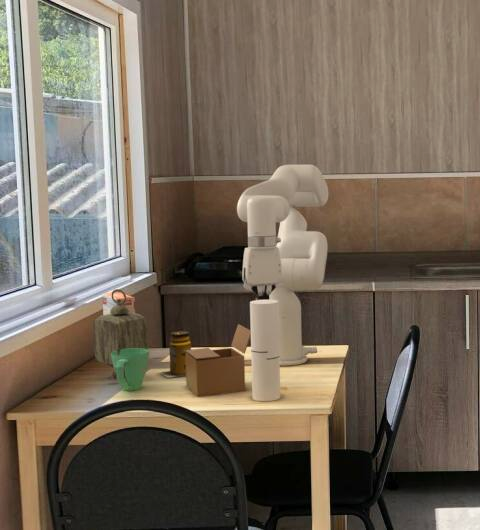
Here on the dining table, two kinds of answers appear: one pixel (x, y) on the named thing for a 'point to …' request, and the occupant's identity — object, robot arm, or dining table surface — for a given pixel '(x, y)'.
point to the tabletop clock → (118, 332)
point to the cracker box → (109, 303)
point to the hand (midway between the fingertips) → (263, 309)
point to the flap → (241, 338)
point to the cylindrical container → (265, 350)
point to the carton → (214, 371)
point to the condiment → (178, 354)
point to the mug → (130, 367)
